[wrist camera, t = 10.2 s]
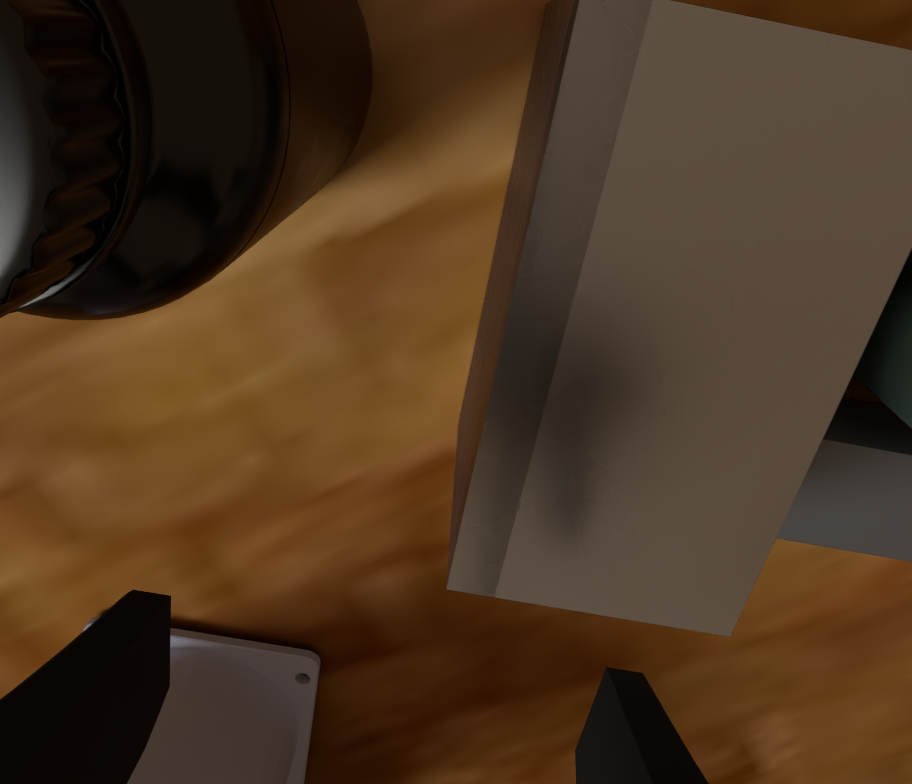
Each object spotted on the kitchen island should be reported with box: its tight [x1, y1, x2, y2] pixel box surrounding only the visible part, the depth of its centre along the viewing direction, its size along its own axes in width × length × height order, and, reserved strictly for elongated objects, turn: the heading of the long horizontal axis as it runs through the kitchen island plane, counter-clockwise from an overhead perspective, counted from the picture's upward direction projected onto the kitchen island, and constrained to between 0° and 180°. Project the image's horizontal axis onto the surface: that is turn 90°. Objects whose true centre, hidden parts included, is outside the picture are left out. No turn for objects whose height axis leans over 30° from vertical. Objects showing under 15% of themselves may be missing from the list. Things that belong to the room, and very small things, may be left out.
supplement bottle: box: [0, 0, 372, 320], centre depth 12 cm, size 7×7×12 cm
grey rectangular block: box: [446, 0, 912, 637], centre depth 16 cm, size 11×6×7 cm, turn 170°
